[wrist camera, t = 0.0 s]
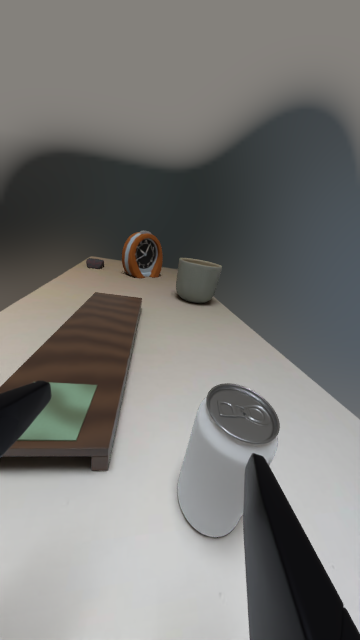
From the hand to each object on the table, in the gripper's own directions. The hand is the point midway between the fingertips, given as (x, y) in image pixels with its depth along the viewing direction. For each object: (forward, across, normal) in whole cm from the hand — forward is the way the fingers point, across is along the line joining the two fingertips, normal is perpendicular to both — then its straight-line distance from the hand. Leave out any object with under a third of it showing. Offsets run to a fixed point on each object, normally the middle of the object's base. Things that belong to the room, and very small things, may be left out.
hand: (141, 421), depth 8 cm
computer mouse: (+94, +68, +16) cm, 117 cm away
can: (+7, -6, +16) cm, 19 cm away
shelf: (+26, +20, +16) cm, 36 cm away
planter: (+75, +8, +16) cm, 77 cm away
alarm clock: (+98, +41, +16) cm, 107 cm away
